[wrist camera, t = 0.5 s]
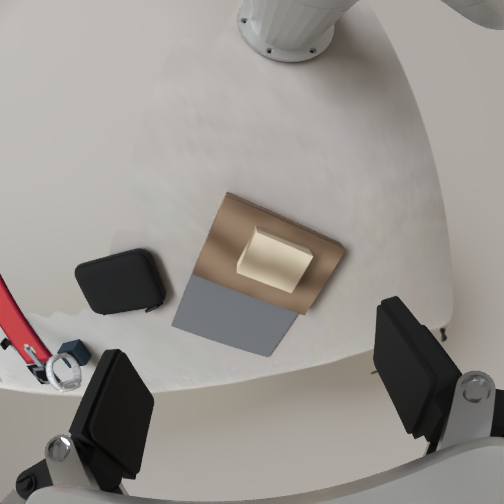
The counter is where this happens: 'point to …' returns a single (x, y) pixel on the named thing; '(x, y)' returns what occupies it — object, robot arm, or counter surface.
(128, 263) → the carrying case or bag
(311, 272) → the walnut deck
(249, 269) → the birch tile
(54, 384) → the watch
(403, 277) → the counter surface
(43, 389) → the counter surface
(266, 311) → the rubber mat
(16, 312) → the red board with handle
